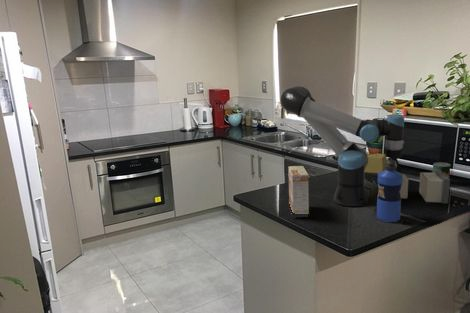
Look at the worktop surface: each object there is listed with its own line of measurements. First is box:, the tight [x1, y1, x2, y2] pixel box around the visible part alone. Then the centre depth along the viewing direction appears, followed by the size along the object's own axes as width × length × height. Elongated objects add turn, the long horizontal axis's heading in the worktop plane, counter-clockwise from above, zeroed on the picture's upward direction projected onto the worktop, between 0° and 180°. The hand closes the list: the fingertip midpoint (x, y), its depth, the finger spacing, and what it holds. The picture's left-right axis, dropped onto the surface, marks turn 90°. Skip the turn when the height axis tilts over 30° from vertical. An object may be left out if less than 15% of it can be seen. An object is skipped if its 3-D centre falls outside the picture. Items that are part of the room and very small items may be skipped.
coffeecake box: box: [288, 165, 310, 215], centre depth 163 cm, size 15×7×20 cm, turn 178°
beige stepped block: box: [418, 170, 451, 204], centre depth 173 cm, size 9×16×11 cm, turn 166°
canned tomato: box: [432, 161, 451, 179], centre depth 190 cm, size 8×8×11 cm
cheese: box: [364, 153, 387, 174], centre depth 221 cm, size 10×11×10 cm
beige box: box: [400, 173, 409, 199], centre depth 177 cm, size 9×6×10 cm
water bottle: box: [376, 159, 404, 223], centre depth 150 cm, size 9×9×25 cm
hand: (391, 195), depth 179 cm, fingers closed on beige box, 6 cm apart
